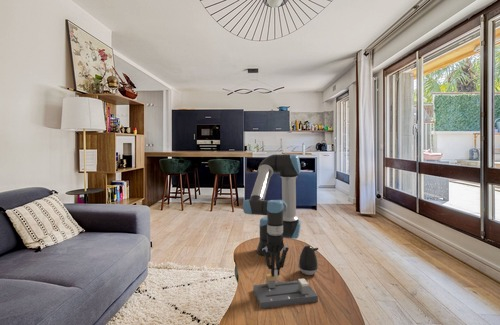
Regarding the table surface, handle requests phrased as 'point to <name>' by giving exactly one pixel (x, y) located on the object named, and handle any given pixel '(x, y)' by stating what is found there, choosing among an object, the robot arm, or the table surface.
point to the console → (282, 295)
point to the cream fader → (303, 286)
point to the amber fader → (270, 281)
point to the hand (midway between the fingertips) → (275, 282)
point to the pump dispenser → (308, 261)
